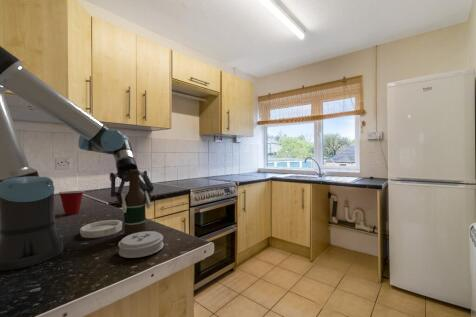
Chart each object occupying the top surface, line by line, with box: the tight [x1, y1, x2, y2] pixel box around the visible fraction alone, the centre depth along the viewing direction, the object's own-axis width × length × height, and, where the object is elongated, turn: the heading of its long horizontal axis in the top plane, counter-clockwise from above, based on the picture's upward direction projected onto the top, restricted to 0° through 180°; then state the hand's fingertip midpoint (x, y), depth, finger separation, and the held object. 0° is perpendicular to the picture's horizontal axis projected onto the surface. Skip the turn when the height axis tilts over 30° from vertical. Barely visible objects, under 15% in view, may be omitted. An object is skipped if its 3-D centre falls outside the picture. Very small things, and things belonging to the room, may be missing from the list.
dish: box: [79, 219, 123, 239], centre depth 86 cm, size 14×14×2 cm
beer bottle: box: [123, 169, 147, 237], centre depth 83 cm, size 8×8×24 cm
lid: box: [117, 230, 164, 259], centre depth 68 cm, size 13×13×5 cm
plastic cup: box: [58, 190, 85, 216], centre depth 115 cm, size 11×11×12 cm
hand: (137, 208), depth 80 cm, fingers closed on beer bottle, 7 cm apart
